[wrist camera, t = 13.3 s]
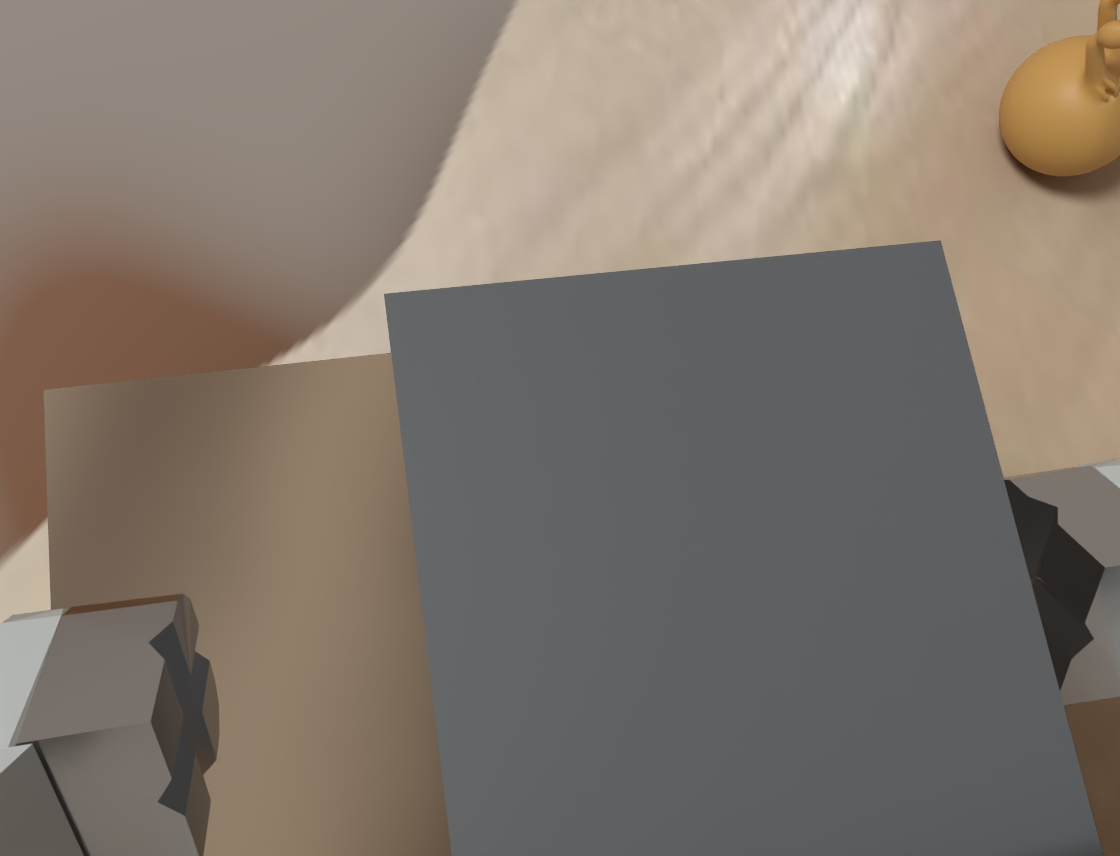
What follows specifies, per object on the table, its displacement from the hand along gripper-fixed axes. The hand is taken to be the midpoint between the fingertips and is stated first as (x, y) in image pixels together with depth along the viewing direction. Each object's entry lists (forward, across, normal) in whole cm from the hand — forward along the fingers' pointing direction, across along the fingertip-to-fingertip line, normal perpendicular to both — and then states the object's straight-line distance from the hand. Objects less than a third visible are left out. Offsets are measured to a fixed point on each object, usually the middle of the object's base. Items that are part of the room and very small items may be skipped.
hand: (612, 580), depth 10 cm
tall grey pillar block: (+5, 0, +5) cm, 7 cm away
